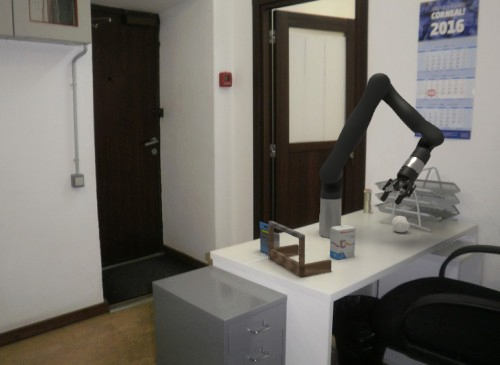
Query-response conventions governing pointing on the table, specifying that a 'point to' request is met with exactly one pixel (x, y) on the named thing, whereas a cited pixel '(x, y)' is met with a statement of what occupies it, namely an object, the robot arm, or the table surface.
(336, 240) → the ink box
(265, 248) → the label tape cartridge
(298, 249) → the frame
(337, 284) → the table surface
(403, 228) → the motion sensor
